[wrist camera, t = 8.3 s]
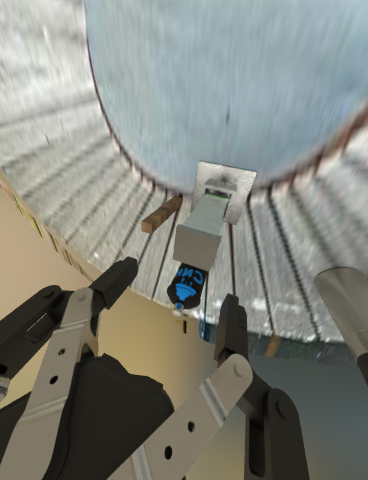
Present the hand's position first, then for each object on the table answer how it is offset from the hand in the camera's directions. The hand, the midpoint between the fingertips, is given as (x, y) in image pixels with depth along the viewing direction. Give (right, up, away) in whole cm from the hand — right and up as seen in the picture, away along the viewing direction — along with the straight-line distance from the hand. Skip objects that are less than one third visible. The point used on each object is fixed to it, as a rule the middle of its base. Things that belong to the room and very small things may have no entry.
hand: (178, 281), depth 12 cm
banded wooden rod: (-1, +14, +26) cm, 29 cm away
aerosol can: (+5, -1, +34) cm, 34 cm away
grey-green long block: (+7, +11, +16) cm, 20 cm away
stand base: (+9, +14, +22) cm, 27 cm away
